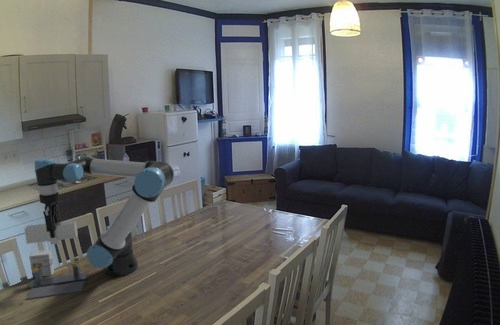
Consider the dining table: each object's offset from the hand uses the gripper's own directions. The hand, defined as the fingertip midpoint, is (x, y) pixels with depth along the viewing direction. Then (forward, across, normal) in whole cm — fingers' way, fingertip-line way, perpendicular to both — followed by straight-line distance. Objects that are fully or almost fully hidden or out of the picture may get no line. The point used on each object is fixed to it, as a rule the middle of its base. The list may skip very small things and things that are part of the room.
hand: (55, 241), depth 156 cm
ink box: (+20, -9, -10) cm, 25 cm away
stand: (+20, 0, -1) cm, 20 cm away
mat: (+20, +8, 0) cm, 22 cm away
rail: (-1, 0, -1) cm, 2 cm away
